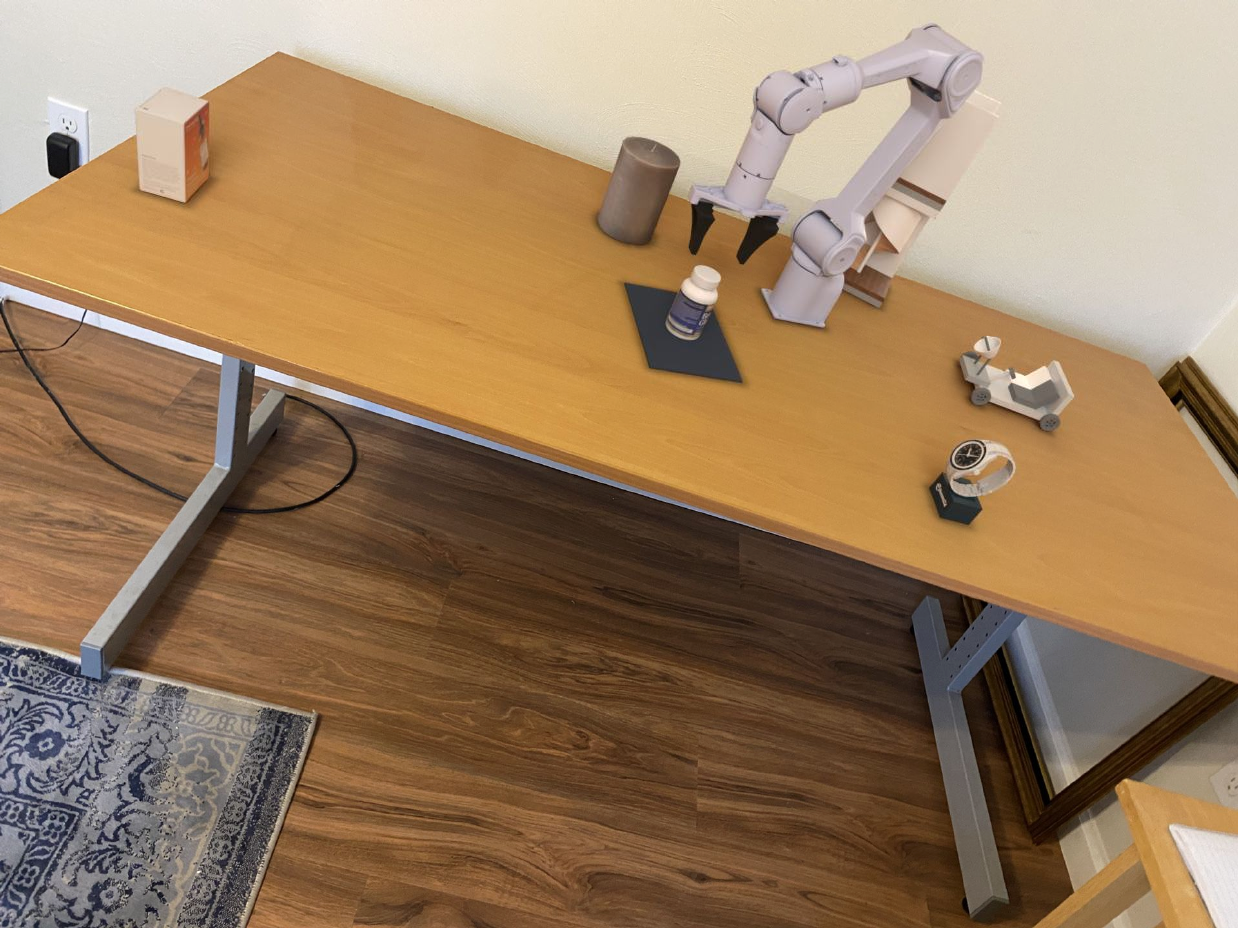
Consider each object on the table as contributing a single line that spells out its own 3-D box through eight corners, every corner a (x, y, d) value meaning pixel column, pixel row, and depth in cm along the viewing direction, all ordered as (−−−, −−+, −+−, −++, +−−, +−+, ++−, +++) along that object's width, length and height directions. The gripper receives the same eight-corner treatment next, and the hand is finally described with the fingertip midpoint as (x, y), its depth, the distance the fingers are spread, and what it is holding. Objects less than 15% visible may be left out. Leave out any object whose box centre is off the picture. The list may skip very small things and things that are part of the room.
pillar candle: (661, 236, 141) (695, 153, 131) (632, 251, 134) (665, 164, 124) (616, 208, 143) (645, 123, 133) (584, 221, 136) (613, 133, 126)
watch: (916, 484, 113) (963, 425, 106) (968, 498, 115) (1018, 440, 107) (927, 514, 109) (977, 455, 102) (980, 528, 110) (1033, 470, 103)
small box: (185, 205, 105) (183, 124, 98) (138, 191, 104) (133, 108, 97) (210, 178, 111) (210, 100, 104) (166, 164, 110) (163, 85, 103)
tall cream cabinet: (821, 278, 149) (930, 84, 127) (832, 257, 158) (936, 72, 135) (879, 308, 148) (999, 118, 126) (886, 285, 156) (1001, 103, 134)
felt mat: (708, 300, 131) (708, 298, 130) (742, 382, 117) (742, 381, 117) (624, 283, 126) (624, 282, 126) (649, 368, 112) (650, 366, 112)
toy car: (989, 348, 128) (976, 310, 136) (952, 396, 134) (942, 356, 143) (1093, 388, 129) (1074, 348, 138) (1052, 433, 136) (1036, 392, 144)
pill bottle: (696, 346, 119) (723, 289, 113) (661, 332, 119) (686, 274, 113) (701, 328, 123) (728, 272, 117) (667, 314, 123) (692, 257, 117)
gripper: (714, 170, 106) (676, 262, 115) (812, 194, 111) (768, 280, 120) (700, 145, 111) (665, 235, 120) (795, 169, 116) (754, 253, 125)
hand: (716, 256), depth 120 cm, fingers open, 7 cm apart
